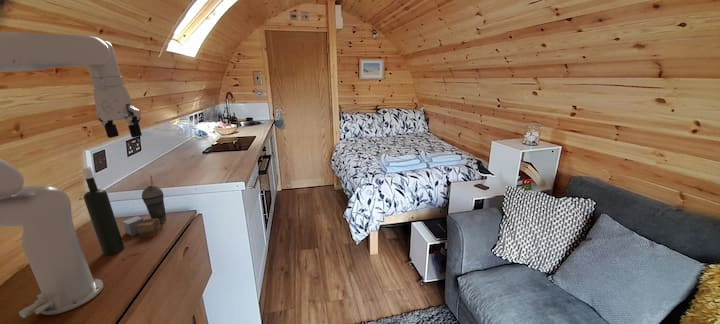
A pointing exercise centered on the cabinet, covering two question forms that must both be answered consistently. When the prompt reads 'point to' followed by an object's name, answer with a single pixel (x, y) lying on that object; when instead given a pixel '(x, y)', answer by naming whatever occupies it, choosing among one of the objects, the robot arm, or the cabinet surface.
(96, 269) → the cabinet surface
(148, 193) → the beverage cup
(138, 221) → the light grey cube
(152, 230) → the walnut block
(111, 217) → the wine bottle
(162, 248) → the cabinet surface
